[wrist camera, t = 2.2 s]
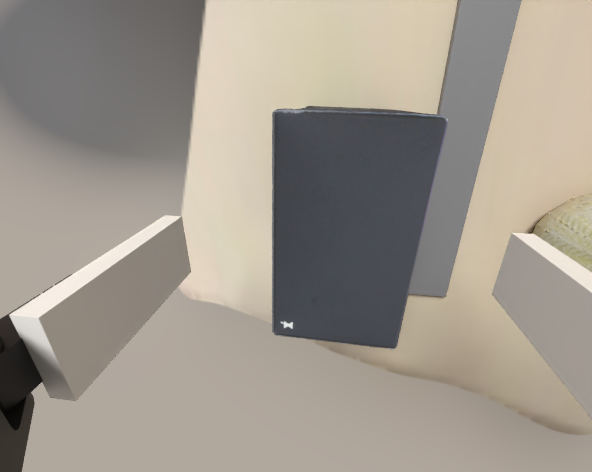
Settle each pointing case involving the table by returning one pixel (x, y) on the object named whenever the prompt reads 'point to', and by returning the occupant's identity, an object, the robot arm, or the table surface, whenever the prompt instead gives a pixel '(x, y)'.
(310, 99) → the table surface
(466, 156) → the gray strip
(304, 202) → the small box
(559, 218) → the sea urchin shell
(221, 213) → the table surface
